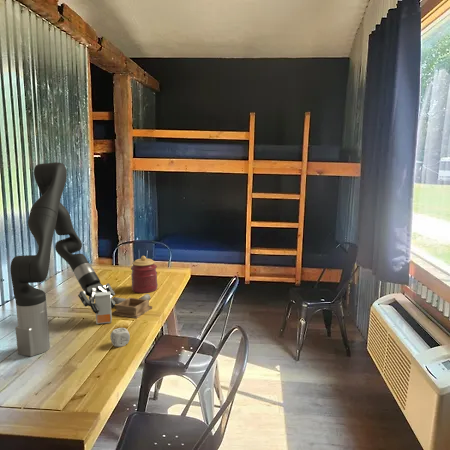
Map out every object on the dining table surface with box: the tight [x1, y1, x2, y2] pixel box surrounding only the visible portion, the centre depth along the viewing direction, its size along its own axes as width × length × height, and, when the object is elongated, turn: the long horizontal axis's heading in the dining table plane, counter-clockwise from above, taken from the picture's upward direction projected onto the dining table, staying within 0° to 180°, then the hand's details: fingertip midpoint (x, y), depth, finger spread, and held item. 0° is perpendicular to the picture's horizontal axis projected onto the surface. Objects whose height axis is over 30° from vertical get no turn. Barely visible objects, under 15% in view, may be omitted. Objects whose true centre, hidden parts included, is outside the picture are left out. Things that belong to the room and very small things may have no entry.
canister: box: [130, 255, 158, 294], centre depth 199 cm, size 13×13×18 cm
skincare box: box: [94, 292, 113, 325], centre depth 158 cm, size 6×4×12 cm
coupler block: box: [112, 293, 153, 319], centre depth 173 cm, size 18×18×4 cm
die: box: [110, 327, 131, 348], centre depth 139 cm, size 5×5×5 cm
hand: (105, 309), depth 157 cm, fingers closed on skincare box, 7 cm apart
